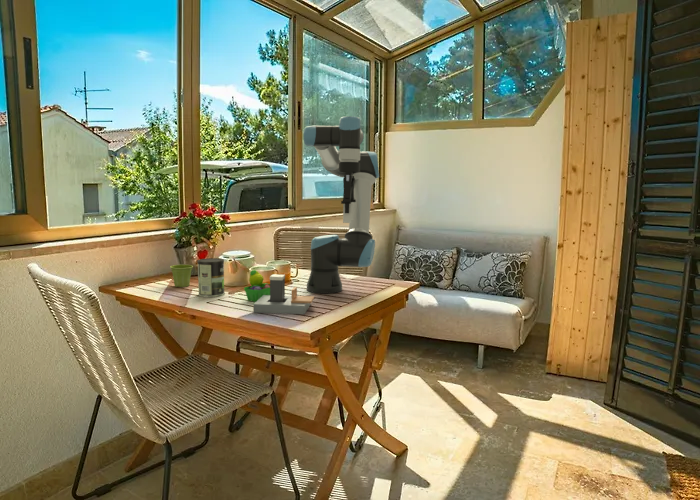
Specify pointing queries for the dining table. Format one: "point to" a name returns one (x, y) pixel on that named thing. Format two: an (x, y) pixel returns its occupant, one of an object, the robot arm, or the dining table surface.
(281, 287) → the plug
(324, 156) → the robot arm
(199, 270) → the coffee can
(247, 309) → the dining table surface
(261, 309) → the socket
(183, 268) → the plant pot
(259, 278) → the fruit basket
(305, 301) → the tan plate with tab
